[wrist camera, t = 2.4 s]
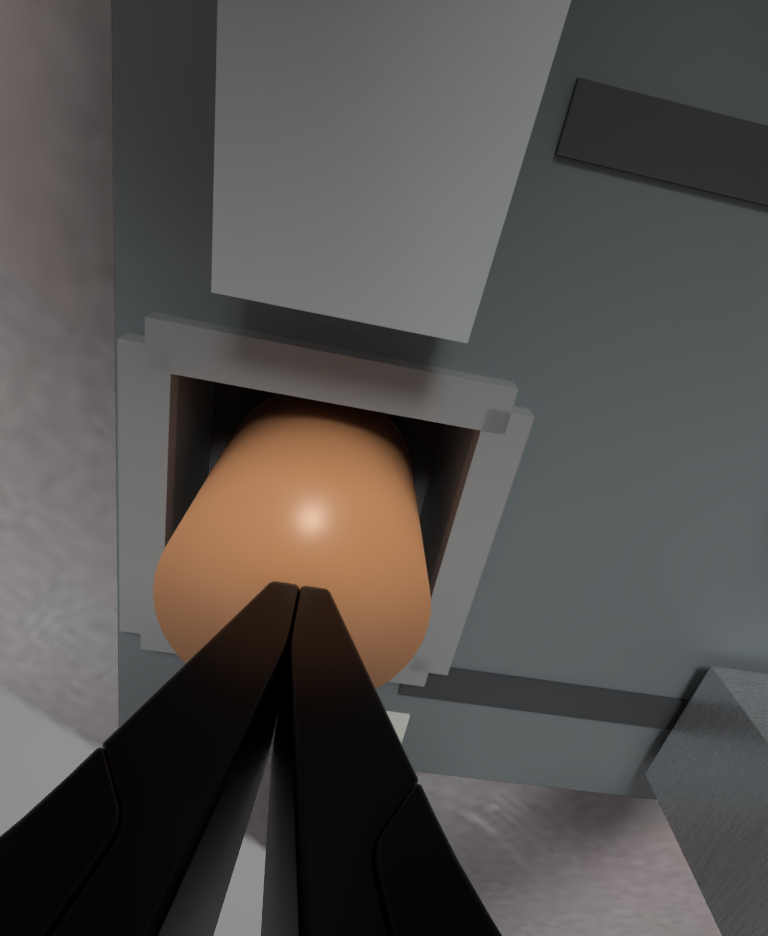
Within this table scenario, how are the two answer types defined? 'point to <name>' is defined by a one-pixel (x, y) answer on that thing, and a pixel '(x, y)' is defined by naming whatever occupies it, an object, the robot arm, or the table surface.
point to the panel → (501, 391)
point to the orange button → (304, 531)
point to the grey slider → (721, 795)
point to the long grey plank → (372, 151)
